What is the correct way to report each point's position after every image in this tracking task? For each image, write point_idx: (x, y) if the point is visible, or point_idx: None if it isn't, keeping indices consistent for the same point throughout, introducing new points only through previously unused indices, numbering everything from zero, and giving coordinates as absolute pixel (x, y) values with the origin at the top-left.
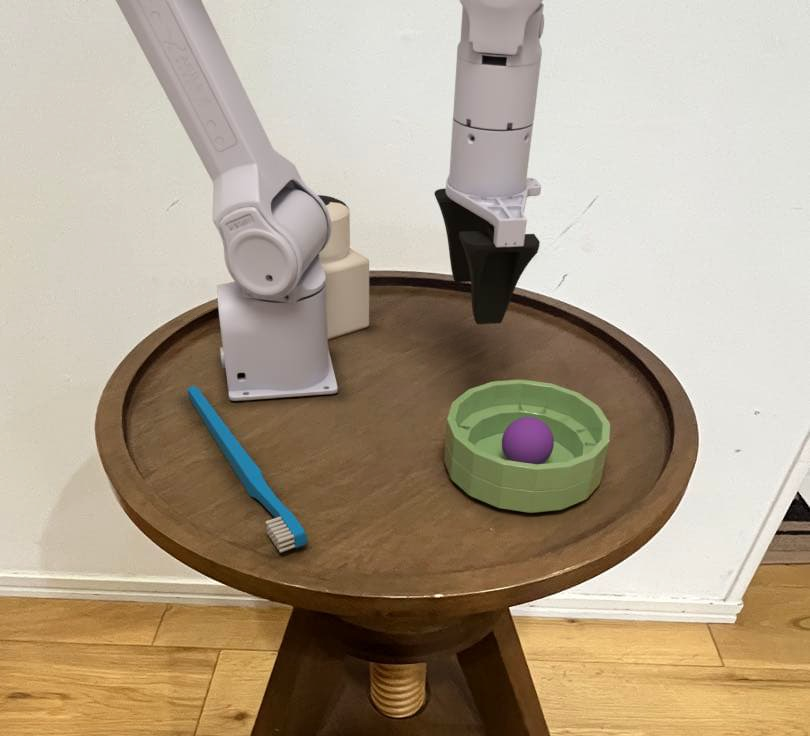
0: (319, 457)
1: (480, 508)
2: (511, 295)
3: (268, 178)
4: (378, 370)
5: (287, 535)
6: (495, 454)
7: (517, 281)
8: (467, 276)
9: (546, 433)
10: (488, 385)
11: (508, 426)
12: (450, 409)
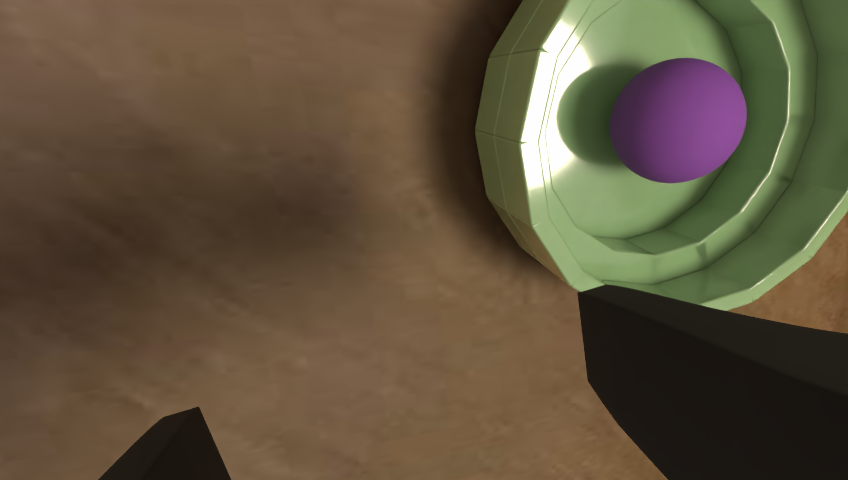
0: (578, 470)
1: None
2: (721, 312)
3: None
4: (256, 446)
5: None
6: (603, 180)
7: (835, 333)
8: (211, 470)
9: (732, 83)
10: (552, 236)
11: (677, 176)
12: None
